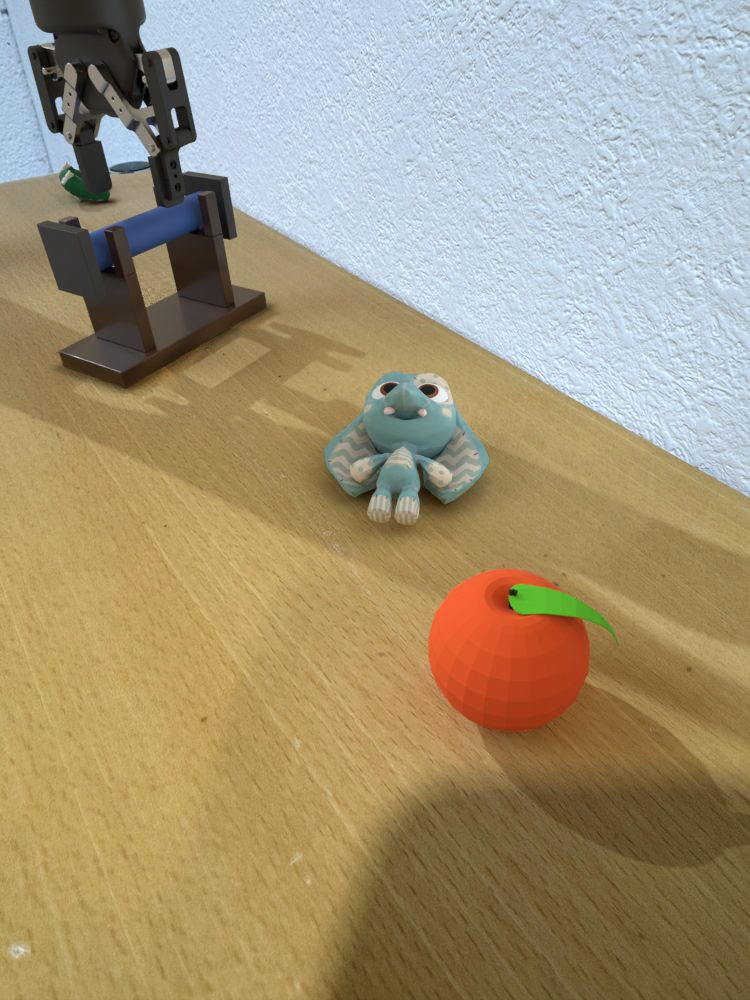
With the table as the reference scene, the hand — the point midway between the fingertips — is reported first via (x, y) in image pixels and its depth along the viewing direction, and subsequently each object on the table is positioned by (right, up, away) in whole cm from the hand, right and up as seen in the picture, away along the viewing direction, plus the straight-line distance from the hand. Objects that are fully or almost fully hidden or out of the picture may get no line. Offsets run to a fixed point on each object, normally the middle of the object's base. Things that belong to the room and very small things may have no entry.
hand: (135, 198), depth 56 cm
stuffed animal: (+22, -23, -11) cm, 33 cm away
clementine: (+26, -34, -24) cm, 49 cm away
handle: (0, -4, +3) cm, 5 cm away
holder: (+1, -9, +8) cm, 12 cm away
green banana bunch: (-22, +19, +45) cm, 54 cm away
